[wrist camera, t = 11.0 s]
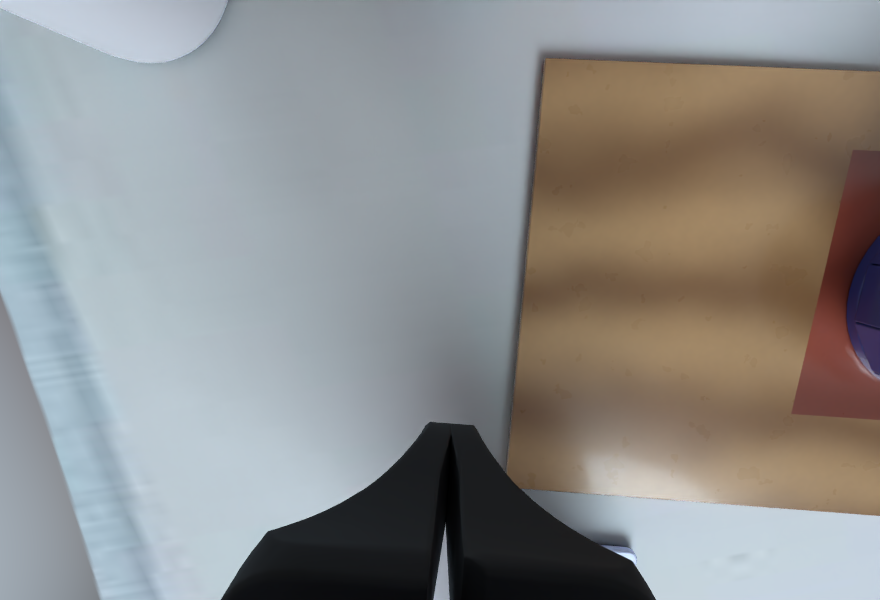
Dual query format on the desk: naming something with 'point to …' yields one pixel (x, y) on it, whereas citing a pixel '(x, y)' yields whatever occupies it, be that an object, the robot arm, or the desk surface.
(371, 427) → the desk surface
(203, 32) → the pill bottle
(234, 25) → the desk surface
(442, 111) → the desk surface
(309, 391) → the desk surface
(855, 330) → the bowl
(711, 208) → the desk mat
